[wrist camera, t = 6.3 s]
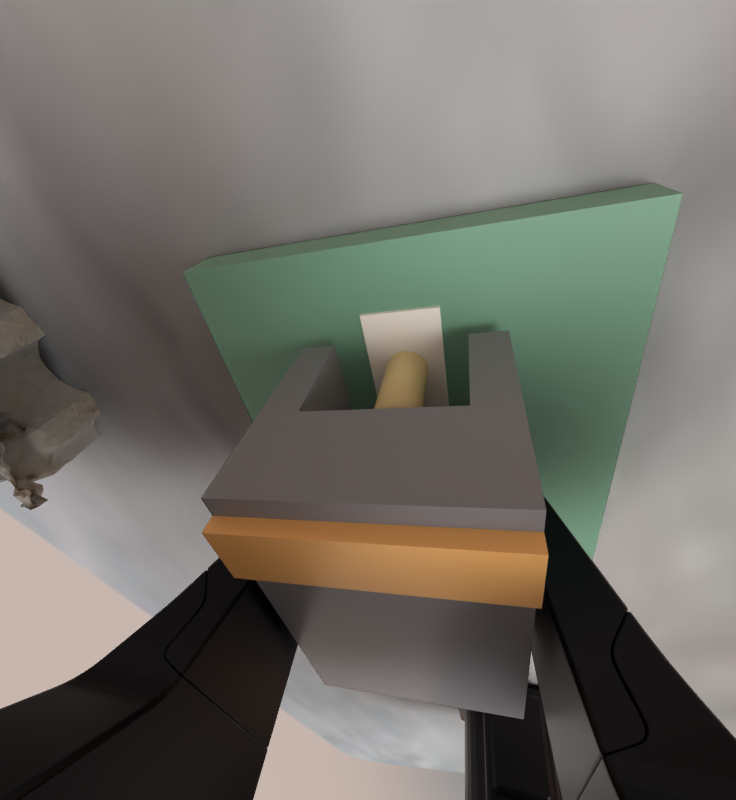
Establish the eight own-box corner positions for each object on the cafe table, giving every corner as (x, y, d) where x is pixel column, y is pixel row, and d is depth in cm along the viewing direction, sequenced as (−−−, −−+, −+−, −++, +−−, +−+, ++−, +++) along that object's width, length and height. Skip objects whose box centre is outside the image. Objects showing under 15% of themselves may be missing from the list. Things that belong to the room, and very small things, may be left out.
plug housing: (505, 536, 12) (525, 737, 8) (362, 529, 13) (321, 698, 9) (509, 330, 8) (551, 534, 4) (303, 348, 9) (189, 515, 5)
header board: (582, 534, 13) (611, 638, 11) (319, 520, 16) (291, 600, 13) (653, 182, 7) (765, 223, 5) (208, 257, 10) (116, 310, 7)
